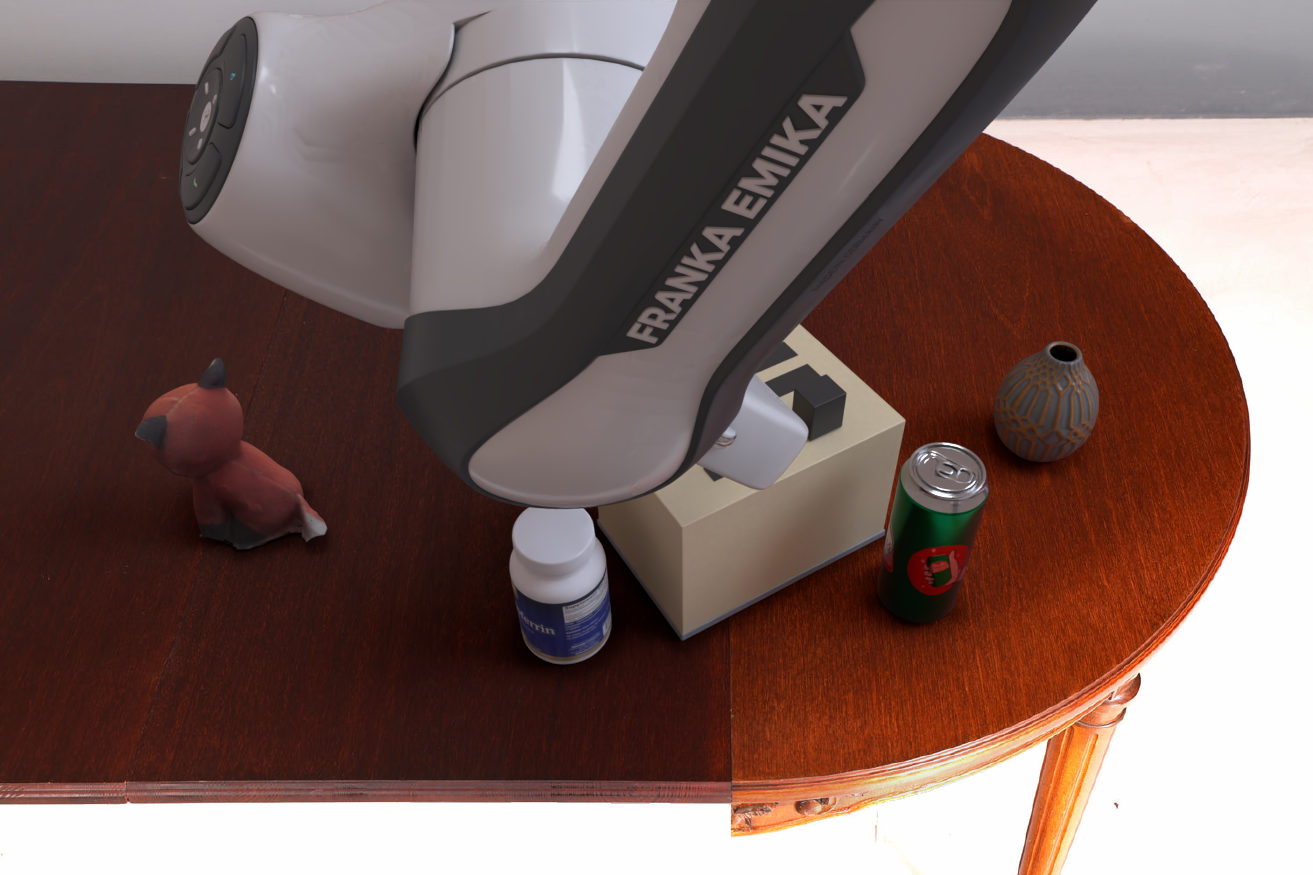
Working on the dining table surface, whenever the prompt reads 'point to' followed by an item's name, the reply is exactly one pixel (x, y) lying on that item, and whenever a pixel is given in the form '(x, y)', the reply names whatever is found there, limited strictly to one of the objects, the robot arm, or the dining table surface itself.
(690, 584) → the toaster
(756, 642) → the dining table surface
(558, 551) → the pill bottle
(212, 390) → the stuffed fox
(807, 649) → the dining table surface
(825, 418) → the slider
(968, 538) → the soda can
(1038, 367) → the vase
